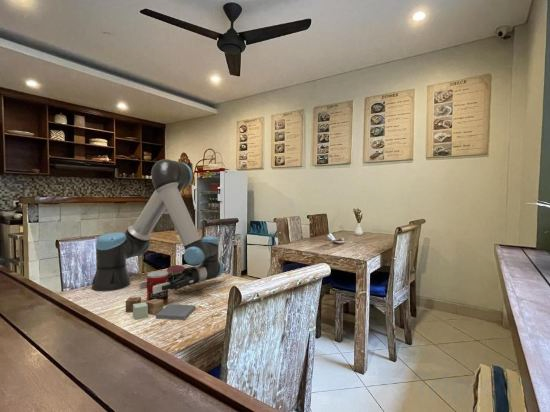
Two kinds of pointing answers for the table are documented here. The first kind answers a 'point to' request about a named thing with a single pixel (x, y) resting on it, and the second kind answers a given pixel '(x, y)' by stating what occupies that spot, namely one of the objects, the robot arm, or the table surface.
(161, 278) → the canned food
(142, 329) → the table surface
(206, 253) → the robot arm
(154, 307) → the teak block
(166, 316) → the plate
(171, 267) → the cupcake
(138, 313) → the sage painted block
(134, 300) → the walnut block
